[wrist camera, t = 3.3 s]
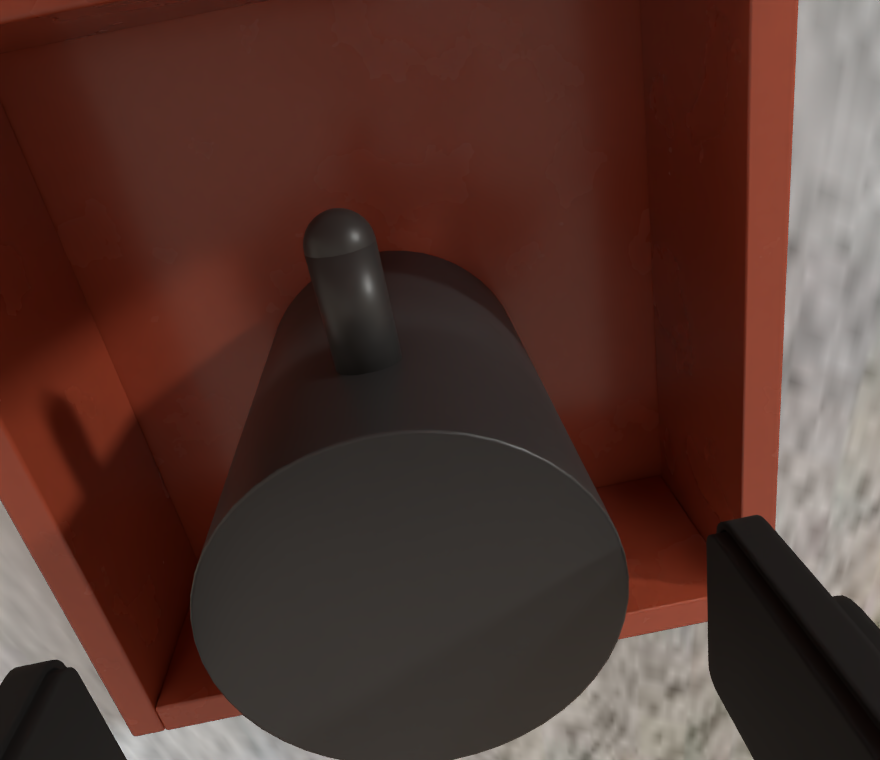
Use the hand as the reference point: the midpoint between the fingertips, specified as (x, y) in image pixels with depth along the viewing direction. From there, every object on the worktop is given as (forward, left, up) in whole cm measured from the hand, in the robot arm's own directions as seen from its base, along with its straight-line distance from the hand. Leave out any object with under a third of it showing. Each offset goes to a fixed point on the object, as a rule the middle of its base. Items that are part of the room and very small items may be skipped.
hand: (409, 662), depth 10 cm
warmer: (-1, -2, -10) cm, 11 cm away
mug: (-1, -1, -9) cm, 10 cm away
